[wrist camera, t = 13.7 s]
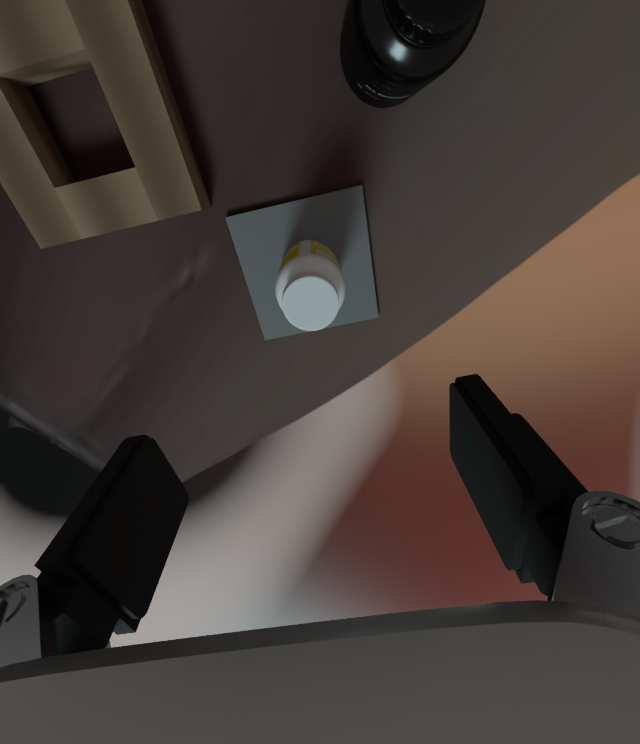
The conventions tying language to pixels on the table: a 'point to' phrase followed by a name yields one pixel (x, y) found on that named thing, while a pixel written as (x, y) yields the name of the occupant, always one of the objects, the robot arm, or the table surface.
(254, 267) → the mat
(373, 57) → the supplement bottle
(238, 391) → the table surface
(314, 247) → the supplement bottle
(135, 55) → the holder
